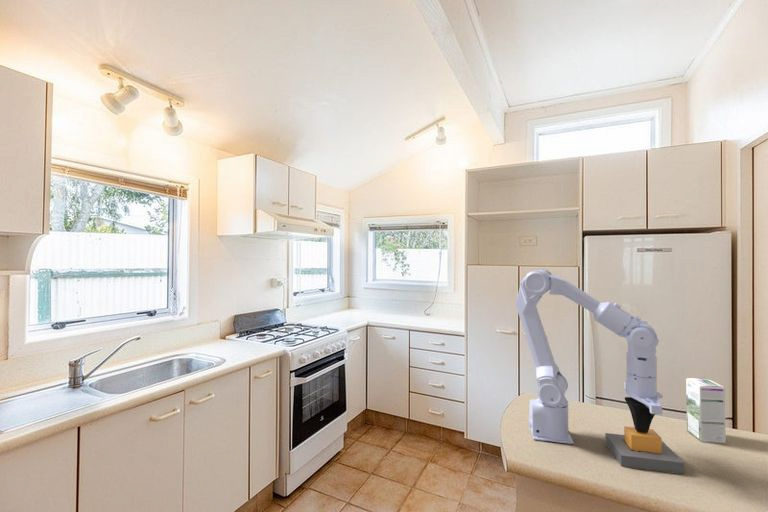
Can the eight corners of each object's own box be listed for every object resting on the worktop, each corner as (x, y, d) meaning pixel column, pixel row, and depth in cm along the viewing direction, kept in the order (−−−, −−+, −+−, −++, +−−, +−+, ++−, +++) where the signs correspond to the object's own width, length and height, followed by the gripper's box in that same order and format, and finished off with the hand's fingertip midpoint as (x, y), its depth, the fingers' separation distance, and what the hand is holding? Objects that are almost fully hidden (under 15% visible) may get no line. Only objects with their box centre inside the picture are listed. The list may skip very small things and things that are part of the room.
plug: (631, 458, 81) (631, 434, 81) (624, 448, 85) (624, 426, 85) (661, 462, 80) (661, 438, 79) (653, 452, 83) (653, 429, 83)
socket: (621, 466, 79) (621, 452, 79) (605, 442, 89) (605, 430, 89) (683, 474, 76) (683, 460, 76) (660, 448, 86) (660, 436, 86)
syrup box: (727, 444, 87) (727, 386, 87) (699, 441, 89) (699, 385, 88) (710, 432, 93) (710, 378, 93) (685, 430, 94) (685, 377, 94)
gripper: (678, 387, 74) (678, 450, 74) (646, 365, 88) (646, 418, 88) (640, 384, 76) (640, 446, 76) (614, 363, 90) (614, 415, 90)
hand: (641, 431), depth 82 cm, fingers closed
